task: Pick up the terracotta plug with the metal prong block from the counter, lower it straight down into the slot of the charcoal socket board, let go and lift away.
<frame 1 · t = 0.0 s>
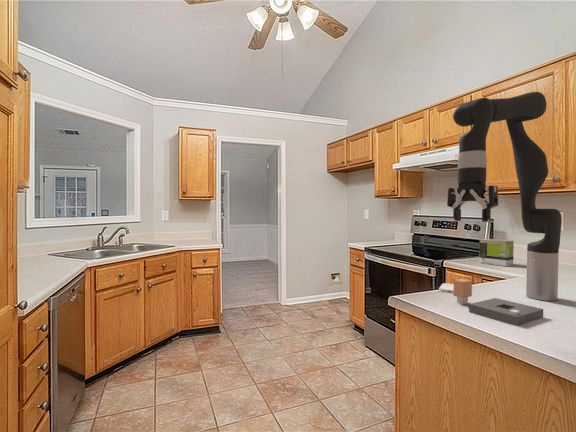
hand: (470, 221, 98), 29 cm above the counter, tool pointing down, fingers open, 8 cm apart
plug: (462, 303, 114), on the counter
hard drive: (451, 291, 133), on the counter
socket board: (505, 314, 101), on the counter
tea box: (495, 264, 195), on the counter
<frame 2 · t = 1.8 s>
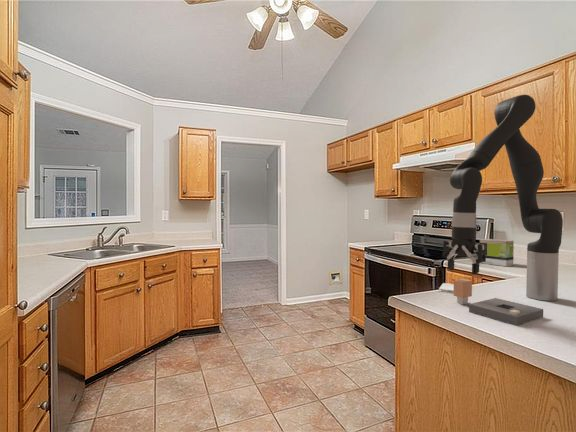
hand: (462, 272, 113), 11 cm above the counter, tool pointing down, fingers open, 8 cm apart
nothing on the counter moved.
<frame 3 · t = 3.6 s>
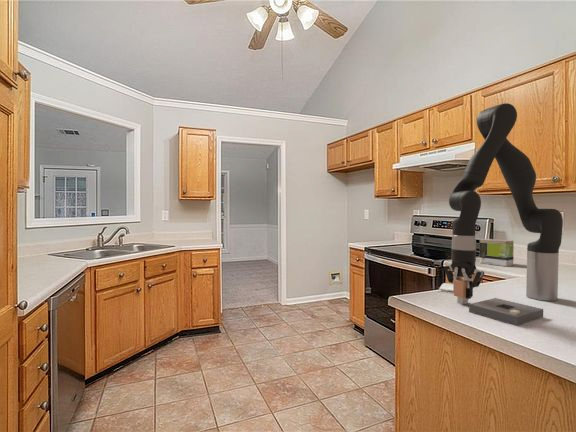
hand: (462, 296, 114), 2 cm above the counter, tool pointing down, fingers closed on plug, 3 cm apart
plug: (462, 303, 114), on the counter, touching gripper
everything else where it was.
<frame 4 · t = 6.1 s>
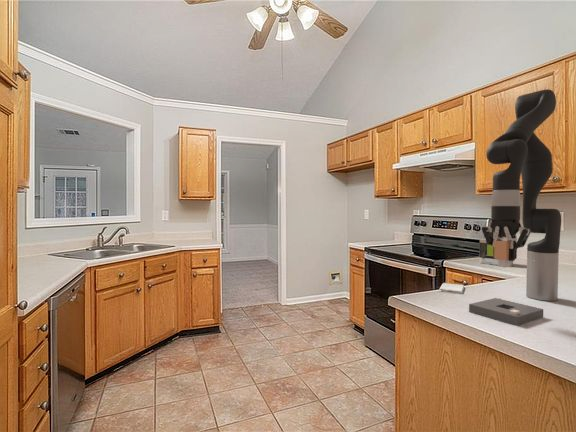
hand: (504, 259, 101), 17 cm above the counter, tool pointing down, fingers closed on plug, 3 cm apart
plug: (504, 266, 101), point 15 cm above the counter, touching gripper
everything else where it was.
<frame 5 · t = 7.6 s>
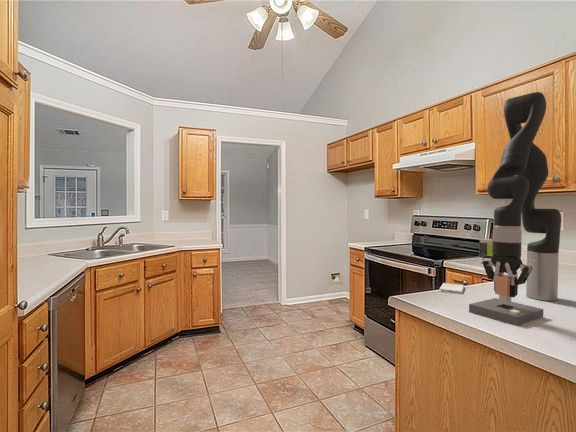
hand: (505, 295, 101), 6 cm above the counter, tool pointing down, fingers closed on plug, 3 cm apart
plug: (505, 302, 101), point 4 cm above the counter, touching gripper
everything else where it was.
when the fingers open (4 cm above the counter, at t = 8.8 s): plug drops 1 cm, resting on socket board.
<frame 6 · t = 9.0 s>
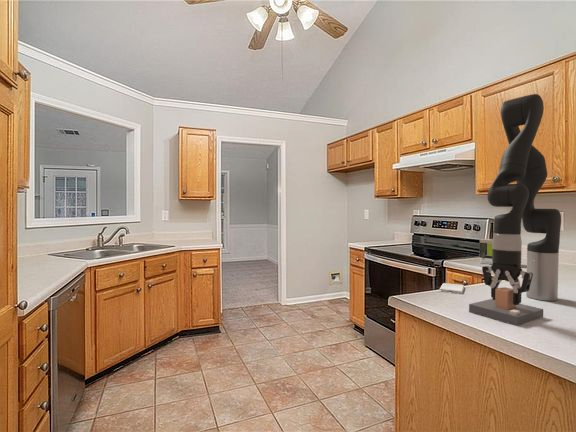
hand: (505, 301, 101), 4 cm above the counter, tool pointing down, fingers open, 5 cm apart
plug: (505, 314, 101), resting on socket board
everything else where it was.
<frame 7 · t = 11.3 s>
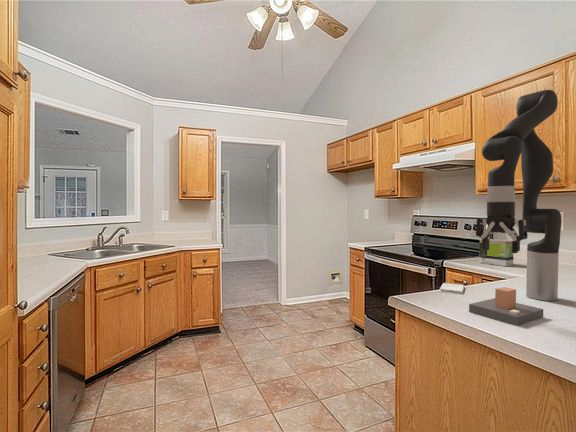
hand: (500, 251, 104), 19 cm above the counter, tool pointing down, fingers open, 8 cm apart
nothing on the counter moved.
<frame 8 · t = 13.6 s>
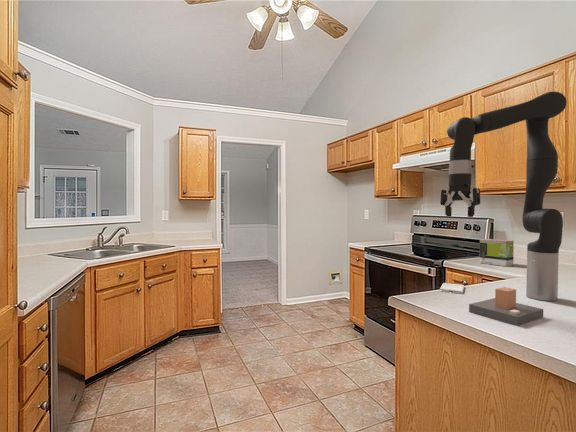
hand: (459, 216, 121), 30 cm above the counter, tool pointing down, fingers open, 8 cm apart
nothing on the counter moved.
at the end: plug 0.0 cm off-centre on the socket board, point 0.0 cm above the socket board's base; plug tilted 0°; the gripper is holding nothing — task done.
